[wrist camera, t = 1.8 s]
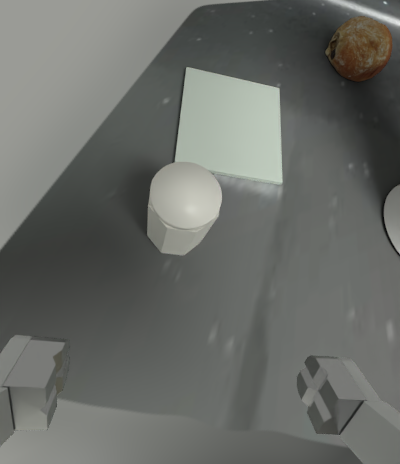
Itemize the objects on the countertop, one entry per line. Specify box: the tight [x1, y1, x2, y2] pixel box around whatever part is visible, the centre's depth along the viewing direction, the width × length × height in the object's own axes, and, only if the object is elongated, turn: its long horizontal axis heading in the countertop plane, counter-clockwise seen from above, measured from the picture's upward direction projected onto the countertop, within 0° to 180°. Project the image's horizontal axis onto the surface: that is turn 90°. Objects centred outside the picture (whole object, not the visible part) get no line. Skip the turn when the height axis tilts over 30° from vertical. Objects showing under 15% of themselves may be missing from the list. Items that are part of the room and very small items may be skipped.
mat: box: [175, 67, 282, 185], centre depth 37 cm, size 14×16×1 cm
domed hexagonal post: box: [147, 162, 222, 256], centre depth 27 cm, size 6×6×9 cm
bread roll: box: [325, 16, 392, 82], centre depth 45 cm, size 10×10×8 cm
